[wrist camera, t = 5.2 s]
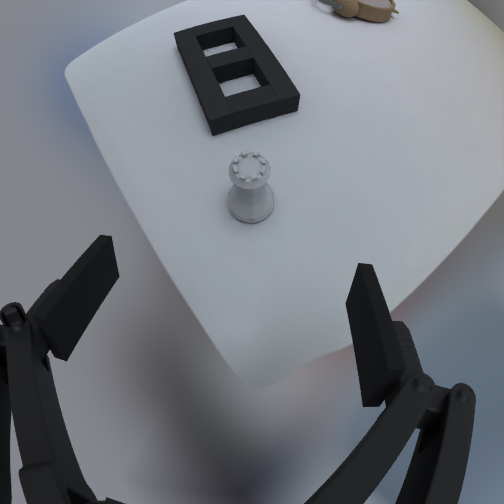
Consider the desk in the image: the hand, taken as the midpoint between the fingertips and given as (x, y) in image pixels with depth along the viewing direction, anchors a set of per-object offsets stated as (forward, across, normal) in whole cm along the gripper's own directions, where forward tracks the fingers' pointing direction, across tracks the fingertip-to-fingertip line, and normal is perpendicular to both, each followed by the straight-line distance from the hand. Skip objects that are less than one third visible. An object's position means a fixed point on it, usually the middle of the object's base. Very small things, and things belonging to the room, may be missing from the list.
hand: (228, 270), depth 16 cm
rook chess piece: (+16, 0, +3) cm, 16 cm away
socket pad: (+28, +5, -10) cm, 30 cm away
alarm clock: (+44, -13, -25) cm, 53 cm away
